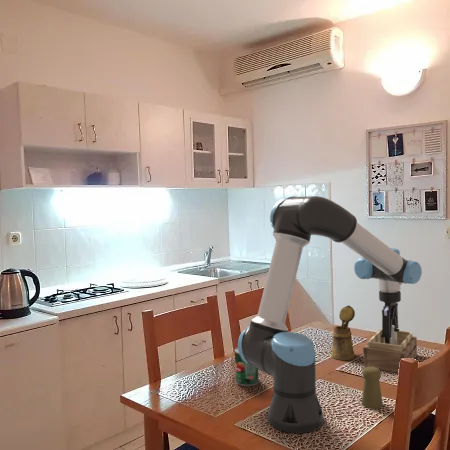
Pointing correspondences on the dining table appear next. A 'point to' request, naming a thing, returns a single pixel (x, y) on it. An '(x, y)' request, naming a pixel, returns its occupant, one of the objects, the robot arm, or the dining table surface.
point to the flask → (393, 336)
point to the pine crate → (378, 343)
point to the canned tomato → (244, 371)
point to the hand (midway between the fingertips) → (390, 351)
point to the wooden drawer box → (388, 356)
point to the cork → (372, 388)
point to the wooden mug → (343, 336)
